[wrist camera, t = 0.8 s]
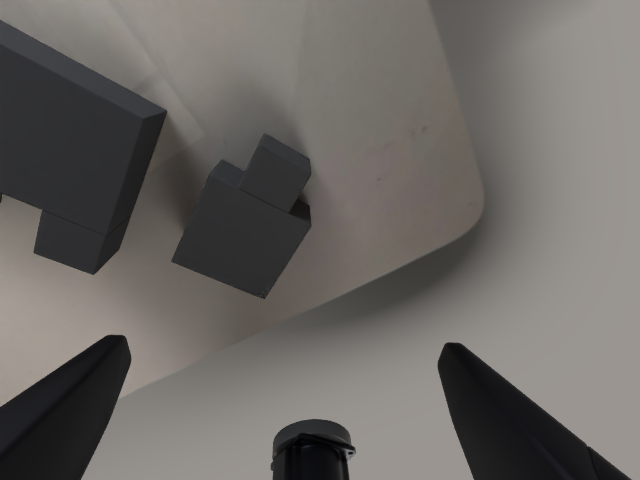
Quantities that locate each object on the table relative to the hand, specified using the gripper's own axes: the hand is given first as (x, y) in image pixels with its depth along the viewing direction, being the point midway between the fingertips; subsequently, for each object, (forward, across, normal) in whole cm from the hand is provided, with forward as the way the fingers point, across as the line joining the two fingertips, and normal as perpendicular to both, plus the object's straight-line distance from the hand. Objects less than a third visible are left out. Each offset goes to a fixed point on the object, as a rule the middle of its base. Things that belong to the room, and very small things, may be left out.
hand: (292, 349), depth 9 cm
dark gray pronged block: (+12, +14, -2) cm, 19 cm away
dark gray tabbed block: (+12, +2, +1) cm, 13 cm away
